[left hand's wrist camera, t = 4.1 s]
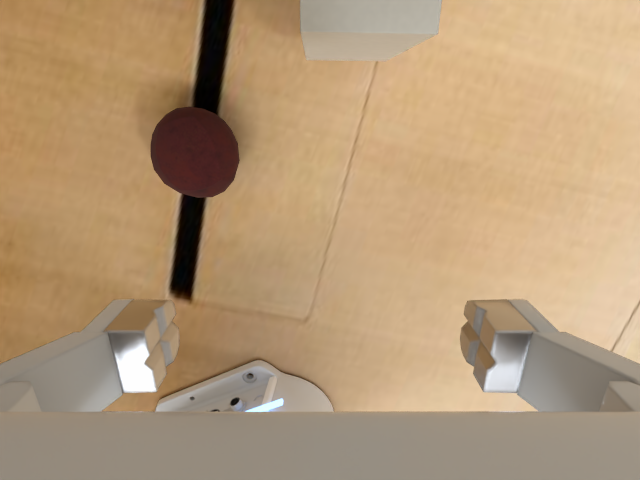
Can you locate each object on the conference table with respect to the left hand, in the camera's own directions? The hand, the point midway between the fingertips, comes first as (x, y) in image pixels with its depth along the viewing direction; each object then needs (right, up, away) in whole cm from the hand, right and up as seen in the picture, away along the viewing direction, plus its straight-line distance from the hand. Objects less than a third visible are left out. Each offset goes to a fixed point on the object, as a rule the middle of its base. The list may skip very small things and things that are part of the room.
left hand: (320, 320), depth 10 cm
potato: (-11, +11, +25) cm, 29 cm away
